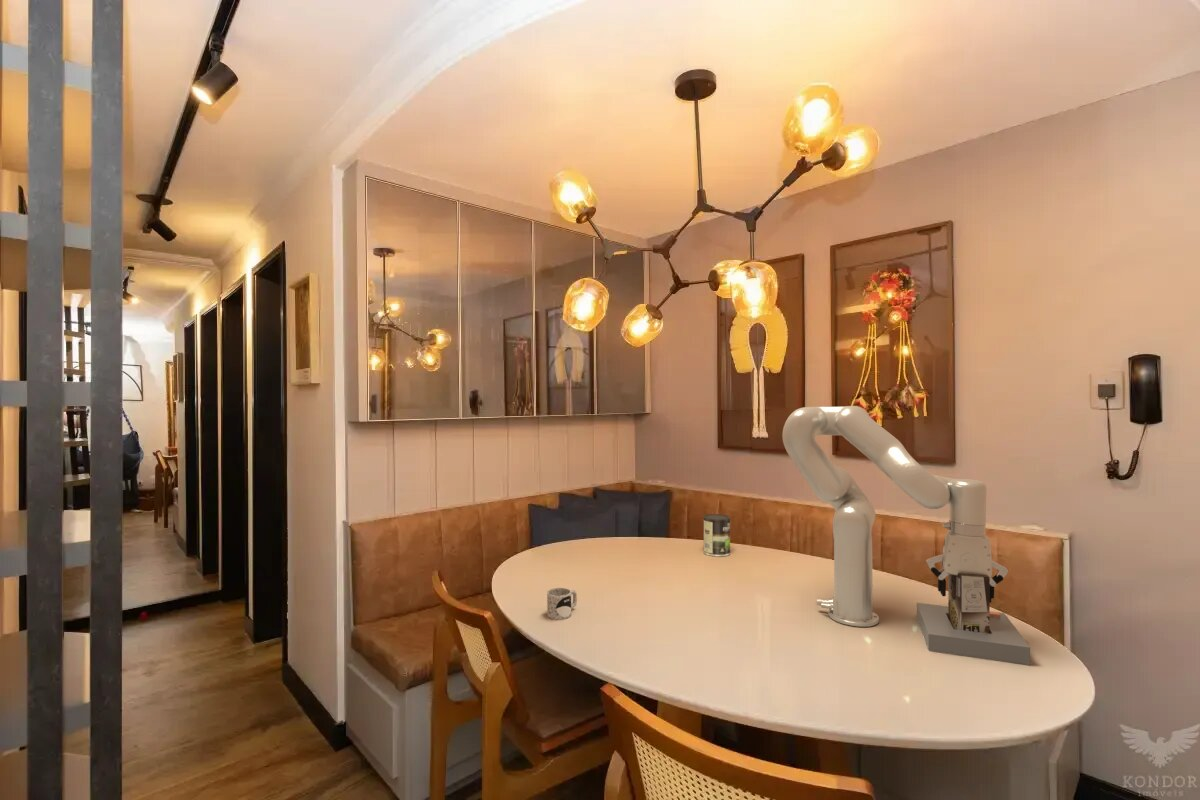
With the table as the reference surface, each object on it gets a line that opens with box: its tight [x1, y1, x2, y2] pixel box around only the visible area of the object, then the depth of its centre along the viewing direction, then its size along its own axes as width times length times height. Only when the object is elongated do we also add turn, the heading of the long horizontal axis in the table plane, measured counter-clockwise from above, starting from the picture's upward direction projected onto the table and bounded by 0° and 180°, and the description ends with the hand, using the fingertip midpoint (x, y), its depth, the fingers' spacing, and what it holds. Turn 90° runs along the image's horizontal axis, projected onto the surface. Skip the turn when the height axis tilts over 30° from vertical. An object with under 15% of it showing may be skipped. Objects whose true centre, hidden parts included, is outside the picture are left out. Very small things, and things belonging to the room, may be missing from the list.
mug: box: [546, 587, 578, 621], centre depth 161 cm, size 10×7×7 cm
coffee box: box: [947, 573, 991, 634], centre depth 142 cm, size 9×6×16 cm
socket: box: [916, 602, 1031, 666], centre depth 142 cm, size 20×22×5 cm
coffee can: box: [702, 513, 731, 558], centre depth 221 cm, size 10×10×14 cm
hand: (965, 597), depth 143 cm, fingers open, 9 cm apart
